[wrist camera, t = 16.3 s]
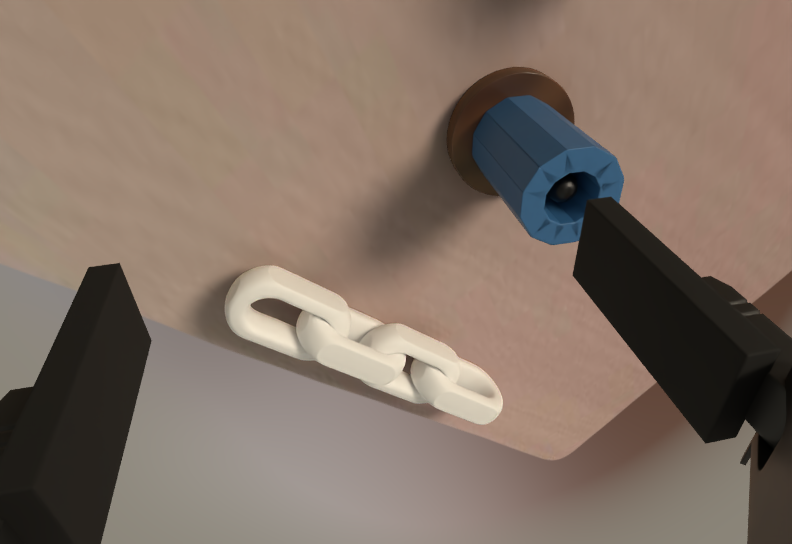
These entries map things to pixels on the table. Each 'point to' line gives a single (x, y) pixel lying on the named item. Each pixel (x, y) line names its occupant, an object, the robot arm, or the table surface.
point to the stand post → (564, 189)
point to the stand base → (485, 98)
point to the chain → (360, 345)
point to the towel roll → (542, 166)
